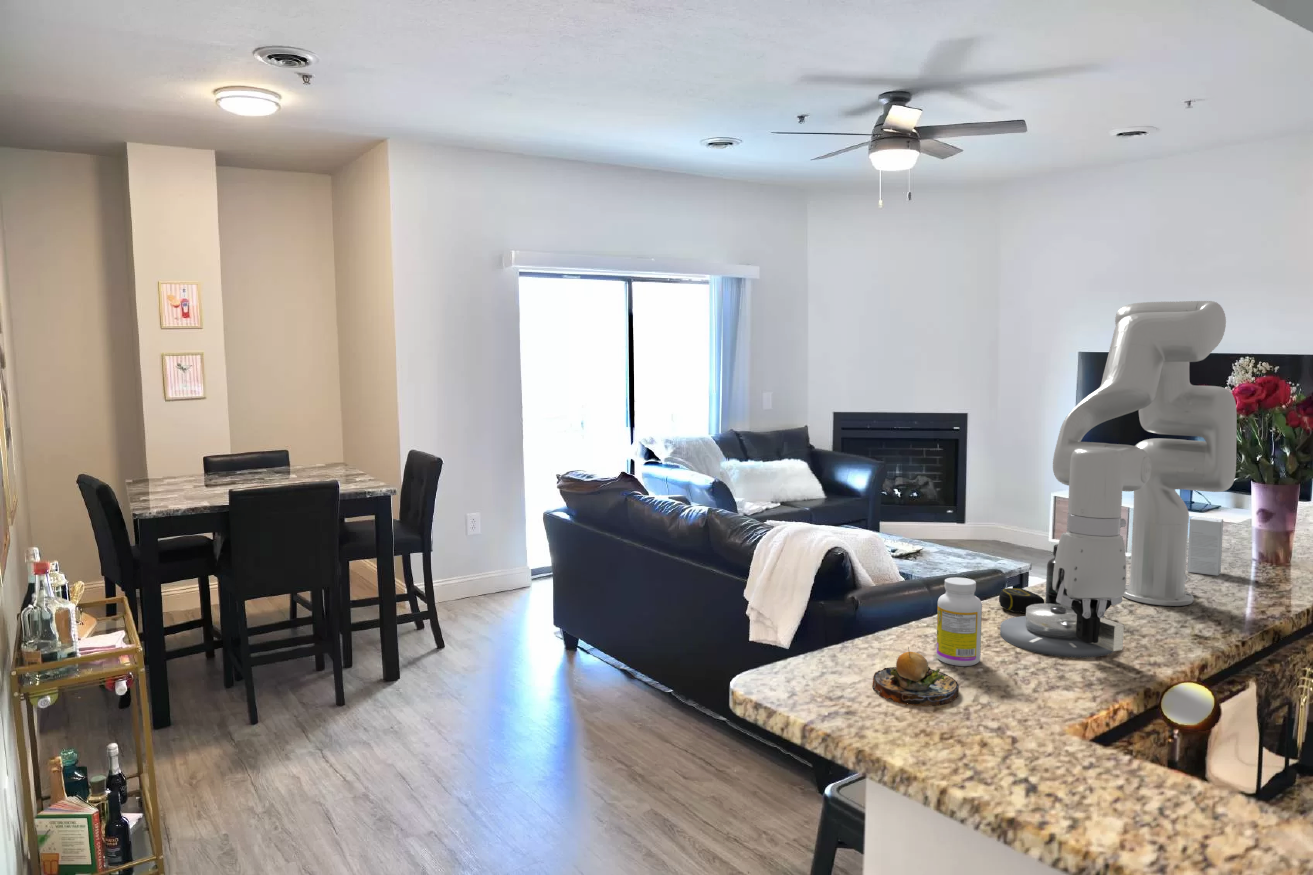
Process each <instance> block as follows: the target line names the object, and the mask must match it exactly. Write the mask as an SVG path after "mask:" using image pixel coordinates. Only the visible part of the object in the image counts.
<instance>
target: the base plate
mask: <svg viewBox="0 0 1313 875" xmlns="http://www.w3.org/2000/svg"><path fill="white" fill-rule="evenodd" d="M1025 625H1026V615H1024V616H1023V615H1022V616H1014V617H1011V618H1007V619H1005V620H1002V622H1001V623H1000V625H999V626H1000V627H999V628H1000V629H999V635H1000V637H1001V639H1002V640H1004V641H1005V642H1007V643H1009V644H1011V645H1013V646H1015V647H1018V648H1020V649H1023V650H1025V651H1030V652H1035V653H1037V654H1043V655H1048V656H1056V657H1064V658H1076V659H1077V658H1082V659H1083V658H1085V659H1086V658H1099V657H1104V656H1107V655H1108V656H1109V655H1110V654H1113V653H1114V652H1115V651H1111V650H1109V649H1106V648H1103V647H1100V646H1098V645H1095V644H1092V643H1086V642H1084V641H1082V640H1080V639H1078V638H1075V639H1066V638H1055V637H1049V636H1044V635H1040V634H1037V633H1034V632H1032V631H1030V630H1028V629H1027V628H1026V626H1025Z"/></svg>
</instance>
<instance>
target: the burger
mask: <svg viewBox="0 0 1313 875" xmlns="http://www.w3.org/2000/svg"><path fill="white" fill-rule="evenodd" d="M907 647H908V649H907V650H908V651H906V652H903V653H902V654H900V655H899V656H898V658H897V659H896V663H895V664H896V666H893V667H891V666H890V667H883V668H882V669H881V670H877V671H876V672H874V674H873V676H872V690H875V691H877V692H879V695H880V697H881V696H882V697H883V698H884V699H887V700H889V699H891V700H893V702H894V703H899V704H902V705H908V706H916V707H917V706H918V707H938V706H945V705H949V704H951V703H954V701H956V700H957V699H958V698H959V691H960V690H959V686H960V685H959V683H958V681H957V680H956V679H954V678H953V677H952V676H950V675H949V674H946V673H944V672H941V671H940V668H937V669H936V670H935V669H932V668H931V667H930V666H929V662H928V660H927V659H926V657H925V656H923V655H922V654H920V653H918V652H915V651H910V649H909V648H910V647H909V646H907ZM882 697H881V698H882ZM907 703H908V704H907Z"/></svg>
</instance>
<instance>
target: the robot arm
mask: <svg viewBox="0 0 1313 875" xmlns="http://www.w3.org/2000/svg"><path fill="white" fill-rule="evenodd" d="M1114 318H1115V319H1114V322H1115V323H1114V324H1115V328H1114V330H1113V335H1112V339H1111V343H1110V346H1109V351H1108V355H1107V358H1106V363H1105V367H1104V370H1103V374H1102V379H1101V384H1100V386H1099V387H1098V388H1097V389H1096V390H1094V391H1092V392H1091V393H1089V394H1088V395H1087V396H1085V397H1084V398H1083V399H1081V401H1079V402H1078V403H1077V404H1076V405H1075V406H1074V407H1073V409H1071V411H1069V413H1068V414H1067V416H1066V417H1065V419H1064V420H1063V421H1062V424H1061V427H1060V430H1059V433H1058V437H1057V440H1056V444H1055V448H1054V453H1053V458H1052V472H1053V474H1054V477H1055V479H1056V480H1057V481H1058V482H1059V483H1061V484H1062V485H1065V486H1068V498H1067V499H1068V503H1067V520H1066V523H1067V524H1066V532H1061V535H1060V536H1059V537H1060V538H1059V540H1058V543H1057V544H1058V547H1057V552H1056V558H1055V564H1054V572H1053V590H1054V591H1056V592H1058V595H1057V598H1056V602H1057V603H1059V604H1061V605H1064V606H1069V607H1071V609H1072V610H1073V612H1074V613H1075V614H1077V622H1076V634H1077V638H1078V639H1080V640H1082V641H1084V642H1086V643H1092V642H1093V643H1098V635H1099V630H1100V618H1104V617H1105V614H1106V611H1107V610H1108V609H1109V608H1111V607H1113V606H1116V605H1119V604H1121V603H1122V602H1123V597H1124V598H1126V599H1129V600H1131V601H1135V602H1138V603H1143V604H1148V605H1153V606H1154V605H1156V606H1164V607H1166V606H1167V607H1181V606H1182V607H1183V606H1188V605H1191V604H1192V603H1194V595H1193V594H1192V593H1190V592H1188V591H1186V590H1185V588H1186V586H1185V585H1186V582H1187V581H1188V575H1187V574H1186V571H1187V570H1186V568H1187V556H1188V554H1187V553H1188V552H1187V550H1188V539H1189V524H1190V514H1189V509H1188V507H1187V506H1188V505H1186V502H1185V501H1184V500H1183V499H1182V497H1181V496H1180V495H1179V493H1178V492H1177V491H1176V490H1186V491H1198V492H1209V493H1210V492H1211V493H1212V492H1213V493H1219V492H1225V491H1228V490H1229V489H1230V488H1231V487H1232V486H1233V484H1234V482H1235V478H1236V473H1237V472H1236V471H1237V436H1238V435H1237V426H1238V425H1237V424H1238V423H1237V422H1238V421H1237V419H1238V416H1237V414H1238V413H1237V412H1238V411H1237V403H1236V399H1235V397H1234V395H1233V393H1232V391H1230V390H1229V389H1228V388H1225V387H1222V386H1216V385H1194V384H1192V383H1191V382H1190V363H1196V362H1200V361H1204V360H1205V359H1206V358H1207V357H1208V356H1209V355H1210V354H1211V353H1212V352H1213V351H1214V350H1215V349H1216V348H1217V347H1218V346H1219V345H1220V343H1221V342H1222V340H1223V337H1224V336H1225V331H1226V323H1227V317H1226V313H1225V311H1224V308H1223V306H1222V305H1221V304H1219V303H1218V302H1217V301H1212V300H1187V301H1186V300H1182V301H1180V300H1179V301H1147V302H1135V303H1130V304H1126V305H1124V306H1122V307H1120V308H1119V309H1118V310H1117V312H1116V315H1115V317H1114ZM1136 411H1138V417H1139V419H1138V420H1139V423H1140V426H1141V427H1142V429H1143V430H1144V431H1146V432H1148V433H1153V434H1157V435H1169V436H1185V437H1187V436H1189V437H1201V438H1202V439H1204V440H1193V439H1192V440H1190V439H1189V440H1187V439H1177V438H1159V437H1158V438H1149V439H1148V438H1147V439H1144V440H1142V441H1139V442H1138V443H1136V444H1135V445H1130V444H1122V443H1121V444H1120V443H1118V444H1117V443H1108V442H1094V441H1091V442H1090V441H1082V440H1083V438H1084V436H1085V435H1086V434H1087V433H1088V432H1089V431H1091V429H1093V428H1095V427H1096V426H1098V425H1100V424H1102V423H1105V422H1107V421H1110V420H1112V419H1115V418H1119V417H1122V416H1125V415H1128V414H1131V413H1134V412H1136ZM1123 492H1128V493H1129V492H1133V509H1132V510H1133V514H1132V530H1131V531H1132V532H1131V533H1132V535H1131V550H1130V551H1131V552H1130V553H1131V554H1130V569H1129V573H1130V574H1129V584H1127V556H1126V555H1127V554H1126V548H1125V541H1124V537H1123V535H1121V528H1125V527H1126V526H1127V521H1126V519H1125V518H1122V503H1123Z"/></svg>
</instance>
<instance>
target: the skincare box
mask: <svg viewBox="0 0 1313 875" xmlns="http://www.w3.org/2000/svg"><path fill="white" fill-rule="evenodd" d="M1223 529H1224V519H1223V518H1212V517H1204V516H1203V517H1202V516H1192V517H1191V518H1189V526H1188V548H1187V550H1188V552H1187V553H1188V554H1187V573H1193V574H1194V573H1195V574H1201V575H1209V576H1215V577H1216V576H1218V577H1219V576H1220V574H1221V572H1222V555H1223V554H1222V551H1223V537H1224V536H1223V535H1224V534H1223V531H1224V530H1223Z"/></svg>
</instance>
